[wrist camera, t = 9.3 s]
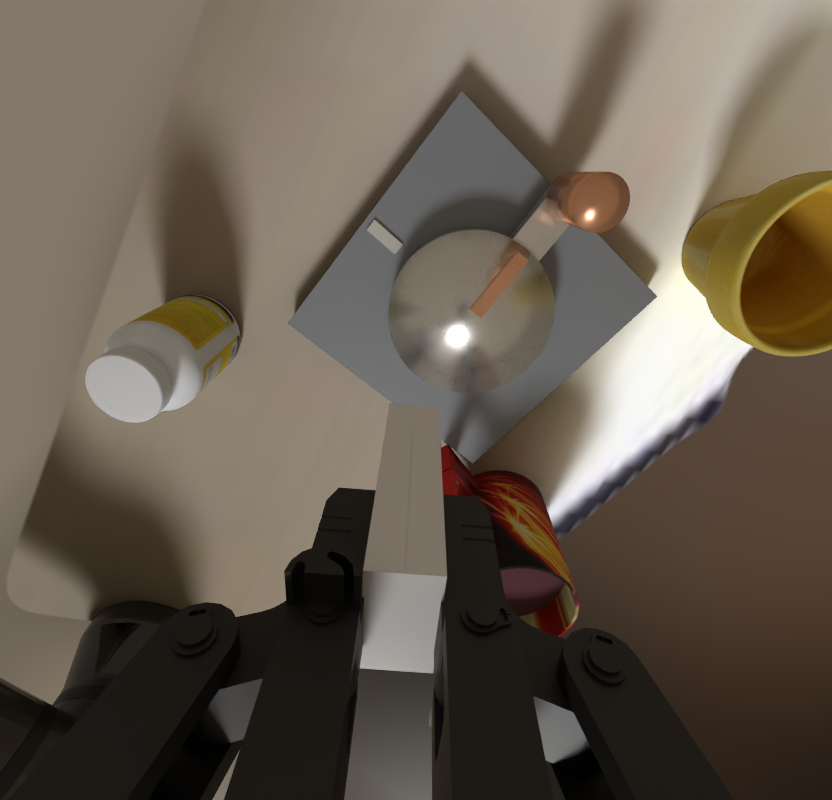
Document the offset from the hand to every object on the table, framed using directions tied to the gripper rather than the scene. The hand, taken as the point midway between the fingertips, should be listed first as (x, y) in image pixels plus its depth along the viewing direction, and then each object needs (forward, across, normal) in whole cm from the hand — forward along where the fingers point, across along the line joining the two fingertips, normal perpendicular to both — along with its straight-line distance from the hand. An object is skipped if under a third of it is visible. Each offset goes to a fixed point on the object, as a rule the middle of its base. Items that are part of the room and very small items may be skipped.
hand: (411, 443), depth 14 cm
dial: (+22, +5, +1) cm, 23 cm away
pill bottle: (+25, -18, -6) cm, 31 cm away
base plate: (+24, +4, -2) cm, 25 cm away
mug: (+25, +8, -21) cm, 33 cm away
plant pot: (+25, +23, +4) cm, 34 cm away
